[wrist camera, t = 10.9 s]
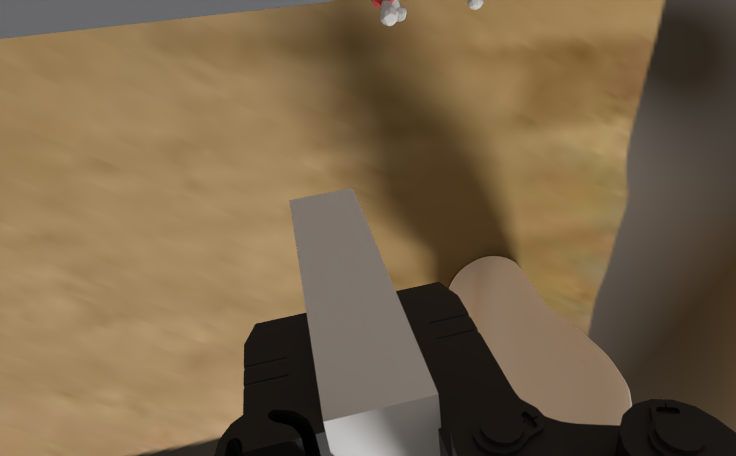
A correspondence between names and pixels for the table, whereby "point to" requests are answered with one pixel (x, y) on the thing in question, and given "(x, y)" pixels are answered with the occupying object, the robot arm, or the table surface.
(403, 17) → the molecular model
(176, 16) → the grey box
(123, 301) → the table surface
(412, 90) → the table surface
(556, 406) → the water bottle
